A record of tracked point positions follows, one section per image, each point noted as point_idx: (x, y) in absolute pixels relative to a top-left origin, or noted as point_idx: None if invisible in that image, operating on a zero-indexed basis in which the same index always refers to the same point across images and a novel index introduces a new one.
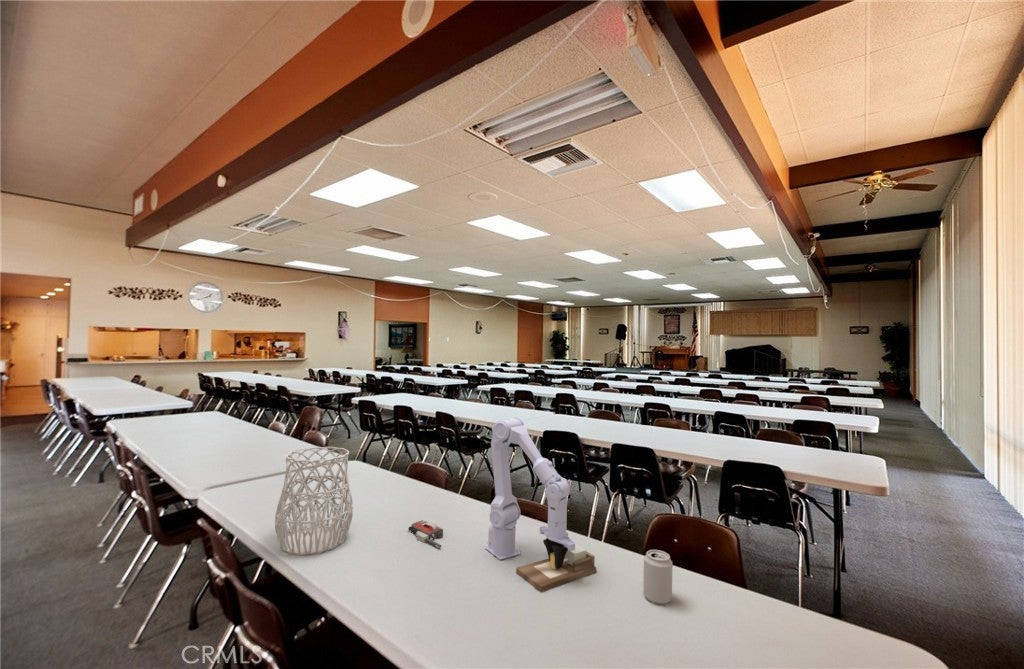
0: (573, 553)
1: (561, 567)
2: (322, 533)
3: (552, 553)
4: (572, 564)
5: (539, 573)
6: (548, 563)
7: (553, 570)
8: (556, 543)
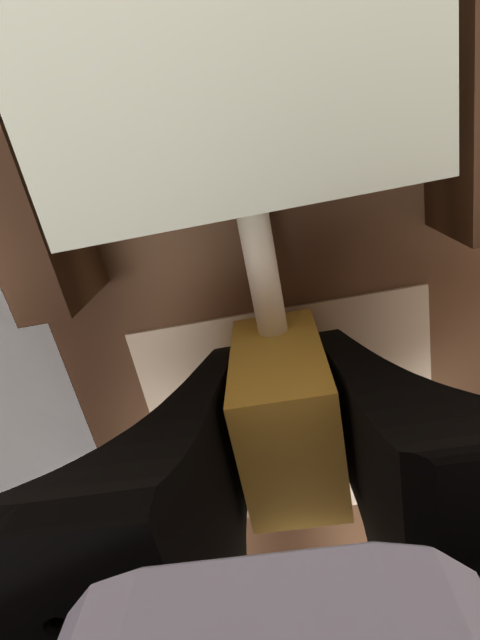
0: (422, 182)
1: (301, 306)
2: None
3: (270, 514)
4: (458, 241)
5: (312, 528)
6: (173, 391)
7: None
8: (206, 549)
